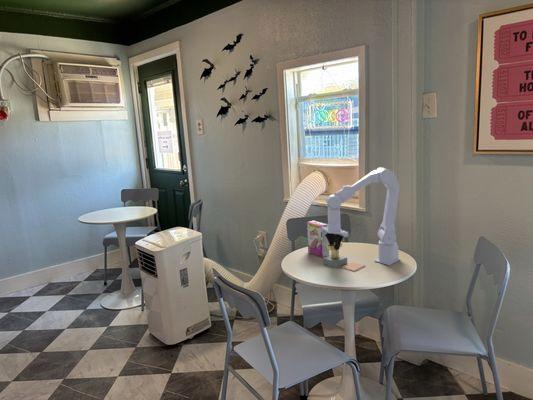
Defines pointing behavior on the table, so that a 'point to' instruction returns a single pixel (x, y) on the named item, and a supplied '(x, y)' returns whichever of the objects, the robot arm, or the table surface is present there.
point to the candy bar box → (317, 239)
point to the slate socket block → (335, 261)
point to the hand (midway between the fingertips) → (334, 248)
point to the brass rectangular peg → (334, 252)
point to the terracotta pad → (353, 266)
